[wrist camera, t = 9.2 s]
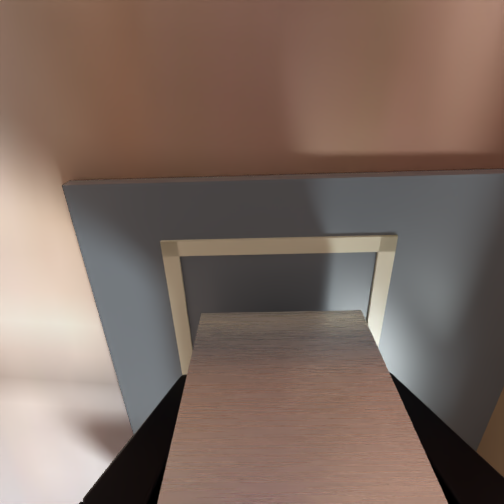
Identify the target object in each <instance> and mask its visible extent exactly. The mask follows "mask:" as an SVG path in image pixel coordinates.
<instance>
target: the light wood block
mask: <svg viewBox="0 0 504 504" xmlns="http://www.w3.org/2000/svg"><path fill="white" fill-rule="evenodd" d="M157 504H448V502H447V500H446V498H445V496H444V493H443V491H442V489H441V487H440V484H439V482H438V480H437V478H436V475H435V473H434V471H433V469H432V467H431V464H430V462H429V460H428V458H427V455H426V453H425V451H424V449H423V447H422V444H421V442H420V440H419V438H418V435H417V433H416V431H415V429H414V427H413V424H412V422H411V420H410V418H409V415H408V413H407V411H406V409H405V406H404V404H403V402H402V400H401V398H400V395H399V393H398V391H397V389H396V386H395V384H394V382H393V380H392V378H391V375H390V373H389V371H388V369H387V366H386V364H385V362H384V360H383V358H382V355H381V353H380V351H379V349H378V346H377V344H376V342H375V340H374V337H373V335H372V333H371V331H370V329H369V326H368V324H367V322H366V320H365V317H364V315H363V313H362V311H361V310H345V311H292V312H240V313H201V317H200V321H199V325H198V330H197V334H196V338H195V343H194V347H193V351H192V356H191V360H190V364H189V369H188V373H187V377H186V382H185V386H184V390H183V395H182V399H181V403H180V407H179V412H178V416H177V420H176V425H175V429H174V433H173V438H172V442H171V446H170V451H169V455H168V459H167V464H166V468H165V472H164V477H163V481H162V485H161V490H160V494H159V498H158V503H157Z"/></svg>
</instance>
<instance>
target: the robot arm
mask: <svg viewBox="0 0 504 504" xmlns="http://www.w3.org/2000/svg"><path fill="white" fill-rule="evenodd" d="M389 373H390V372H389ZM390 375H391V378H392V380H393V382H394V384H395V386H396V389H397V391H398V393H399V395H400V398H401V400H402V402H403V404H404V406H405V409H406V411H407V413H408V415H409V418H410V420H411V422H412V424H413V427H414V429H415V431H416V433H417V435H418V438H419V440H420V442H421V444H422V447H423V449H424V451H425V453H426V455H427V458H428V460H429V462H430V464H431V467H432V469H433V471H434V473H435V475H436V478H437V480H438V482H439V484H440V487H441V489H442V491H443V493H444V496H445V498H446V500H447V502H448V504H504V477H503V476H502V475H501V474H500V473H499V472H497V471H496V470H495V469H494V468H493V467H492V466H491V465H490V464H489V463H488V462H487V461H486V460H485V459H483V458H482V457H481V456H480V455H479V454H478V453H477V452H476V451H475V450H474V449H473V448H472V447H471V446H469V445H468V444H467V443H466V442H465V441H464V440H463V439H462V438H461V437H460V436H459V435H458V434H457V433H455V432H454V431H453V430H452V429H451V428H450V427H449V426H448V425H447V424H446V423H445V422H444V421H443V420H441V419H440V418H439V417H438V416H437V415H436V414H435V413H434V412H433V411H432V410H431V409H430V408H429V407H427V406H426V405H425V404H424V403H423V402H422V401H421V400H420V399H419V398H418V397H417V396H416V395H415V394H413V393H412V392H411V391H410V390H409V389H408V388H407V387H406V386H405V385H404V384H403V383H402V382H400V381H399V380H398V379H397V378H396V377H395V376H394V375H393V374H392V373H390ZM186 377H187V374H184V375H182V376H180V377H179V379H178V380H177V381H176V382H175V384H174V385H173V386H172V387H171V389H170V390H169V391H168V392H167V394H166V395H165V396H164V397H163V399H162V400H161V401H160V402H159V404H158V405H157V406H156V408H155V409H154V410H153V411H152V413H151V414H150V415H149V416H148V418H147V419H146V420H145V421H144V423H143V424H142V425H141V426H140V428H139V429H138V430H137V431H136V433H135V434H134V435H133V436H132V438H131V439H130V440H129V441H128V443H127V444H126V445H125V446H124V448H123V449H122V450H121V451H120V453H119V454H118V455H117V456H116V458H115V459H114V460H113V461H112V463H111V464H110V465H109V467H108V468H107V469H106V470H105V472H104V473H103V474H102V475H101V477H100V478H99V479H98V480H97V482H96V483H95V484H94V485H93V487H92V488H91V489H90V490H89V492H88V493H87V494H86V495H85V497H84V498H83V502H80V503H79V504H157V503H158V498H159V494H160V490H161V485H162V481H163V477H164V472H165V468H166V464H167V459H168V455H169V451H170V446H171V442H172V438H173V433H174V429H175V425H176V420H177V416H178V412H179V407H180V403H181V399H182V395H183V390H184V386H185V382H186Z"/></svg>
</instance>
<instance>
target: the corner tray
mask: <svg viewBox="0 0 504 504" xmlns="http://www.w3.org/2000/svg"><path fill="white" fill-rule="evenodd" d="M62 187H63V191H64V194H65V198H66V201H67V205H68V208H69V212H70V215H71V219H72V222H73V225H74V229H75V232H76V236H77V239H78V243H79V246H80V250H81V253H82V257H83V260H84V264H85V267H86V271H87V274H88V278H89V281H90V285H91V288H92V292H93V295H94V299H95V302H96V306H97V309H98V313H99V316H100V319H101V323H102V326H103V330H104V333H105V337H106V340H107V344H108V347H109V351H110V354H111V358H112V361H113V365H114V368H115V372H116V375H117V379H118V382H119V386H120V389H121V393H122V396H123V400H124V403H125V407H126V410H127V414H128V417H129V420H130V424H131V427H132V431H133V434H135V433H136V431H137V430H138V429H139V428H140V426H141V425H142V424H143V423H144V421H145V420H146V419H147V418H148V416H149V415H150V414H151V413H152V411H153V410H154V409H155V408H156V406H157V405H158V404H159V402H160V401H161V400H162V399H163V397H164V396H165V395H166V394H167V392H168V391H169V390H170V389H171V387H172V386H173V385H174V384H175V382H176V381H177V380H178V379H179V377H180V376H182V375H184V374H187V373H188V369H189V364H190V360H191V356H192V351H193V347H194V343H195V338H196V334H197V330H198V325H199V321H200V317H201V313H240V312H292V311H345V310H361V311H362V313H363V315H364V317H365V320H366V322H367V324H368V326H369V329H370V331H371V333H372V335H373V337H374V340H375V342H376V344H377V346H378V349H379V351H380V353H381V355H382V358H383V360H384V362H385V364H386V366H387V369H388V371H389V372H390V373H392V374H393V375H394V376H395V377H396V378H397V379H398V380H399V381H400V382H402V383H403V384H404V385H405V386H406V387H407V388H408V389H409V390H410V391H411V392H412V393H413V394H415V395H416V396H417V397H418V398H419V399H420V400H421V401H422V402H423V403H424V404H425V405H426V406H427V407H429V408H430V409H431V410H432V411H433V412H434V413H435V414H436V415H437V416H438V417H439V418H440V419H441V420H443V421H444V422H445V423H446V424H447V425H448V426H449V427H450V428H451V429H452V430H453V431H454V432H455V433H457V434H458V435H459V436H460V437H461V438H462V439H463V440H464V441H465V442H466V443H467V444H468V445H469V446H471V447H472V448H473V449H474V450H475V451H476V452H477V453H478V454H479V455H480V456H481V457H482V458H483V459H485V460H486V461H487V462H488V463H489V464H490V465H491V466H492V467H493V468H494V469H495V470H496V471H497V472H499V473H500V474H501V475H502V476H503V477H504V169H474V170H437V171H400V172H363V173H327V174H290V175H253V176H216V177H179V178H142V179H105V180H70V181H69V182H67V183H65V184H63V185H62Z"/></svg>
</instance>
